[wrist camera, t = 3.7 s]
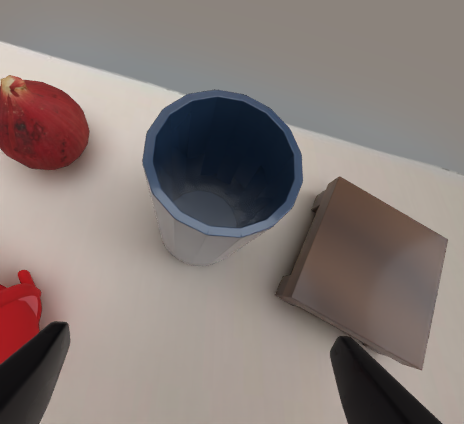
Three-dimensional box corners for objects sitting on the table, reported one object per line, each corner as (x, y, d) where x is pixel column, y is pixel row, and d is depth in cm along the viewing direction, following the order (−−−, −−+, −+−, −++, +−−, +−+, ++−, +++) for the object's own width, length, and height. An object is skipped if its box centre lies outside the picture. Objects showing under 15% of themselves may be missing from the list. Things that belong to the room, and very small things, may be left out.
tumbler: (174, 278, 21) (173, 261, 10) (150, 201, 23) (123, 103, 11) (250, 250, 23) (326, 208, 12) (224, 181, 25) (268, 80, 13)
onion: (95, 187, 22) (54, 133, 15) (16, 183, 21) (-73, 122, 13) (103, 126, 24) (71, 50, 16) (30, 119, 23) (-41, 33, 15)
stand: (381, 357, 23) (422, 370, 19) (271, 296, 22) (290, 297, 19) (410, 246, 27) (448, 239, 23) (316, 192, 26) (339, 175, 23)
